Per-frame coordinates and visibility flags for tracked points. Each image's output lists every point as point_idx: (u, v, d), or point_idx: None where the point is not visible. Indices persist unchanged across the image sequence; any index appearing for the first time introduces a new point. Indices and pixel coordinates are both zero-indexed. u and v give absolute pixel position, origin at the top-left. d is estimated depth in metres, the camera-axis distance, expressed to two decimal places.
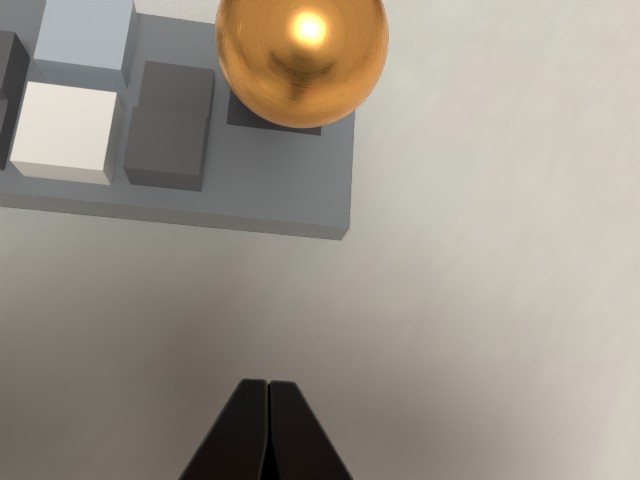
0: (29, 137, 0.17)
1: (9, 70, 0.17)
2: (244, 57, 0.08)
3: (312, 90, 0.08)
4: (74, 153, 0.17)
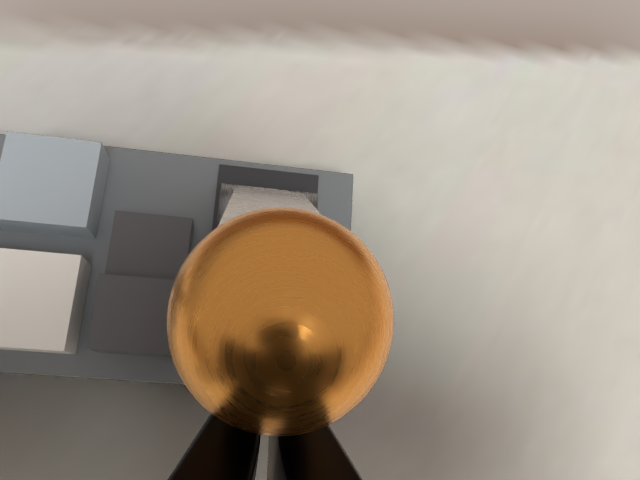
0: None
1: None
2: (201, 379, 0.06)
3: (294, 419, 0.06)
4: (31, 331, 0.15)
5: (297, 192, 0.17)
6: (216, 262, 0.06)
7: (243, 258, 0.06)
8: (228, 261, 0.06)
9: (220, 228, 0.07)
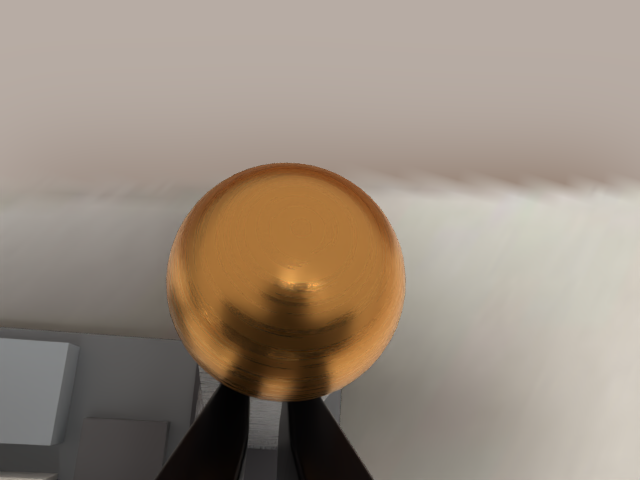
0: None
1: None
2: (208, 275, 0.06)
3: (312, 313, 0.06)
4: None
5: None
6: (225, 181, 0.06)
7: (251, 169, 0.06)
8: (237, 175, 0.06)
9: None
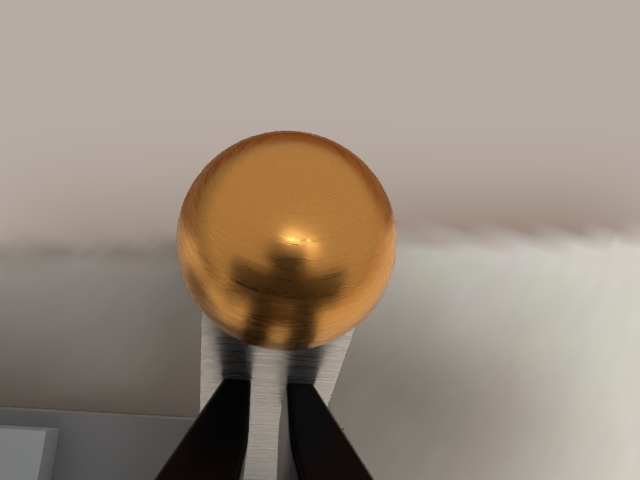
0: None
1: None
2: (219, 198, 0.06)
3: (314, 224, 0.06)
4: None
5: None
6: None
7: None
8: None
9: None
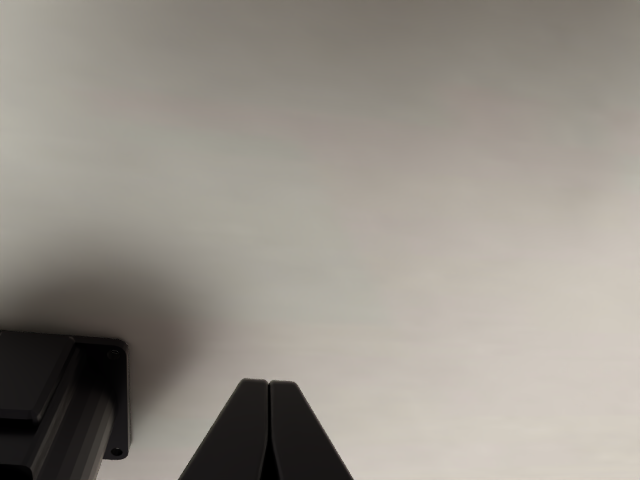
0: None
1: None
2: None
3: None
4: None
5: None
6: None
7: None
8: None
9: None
